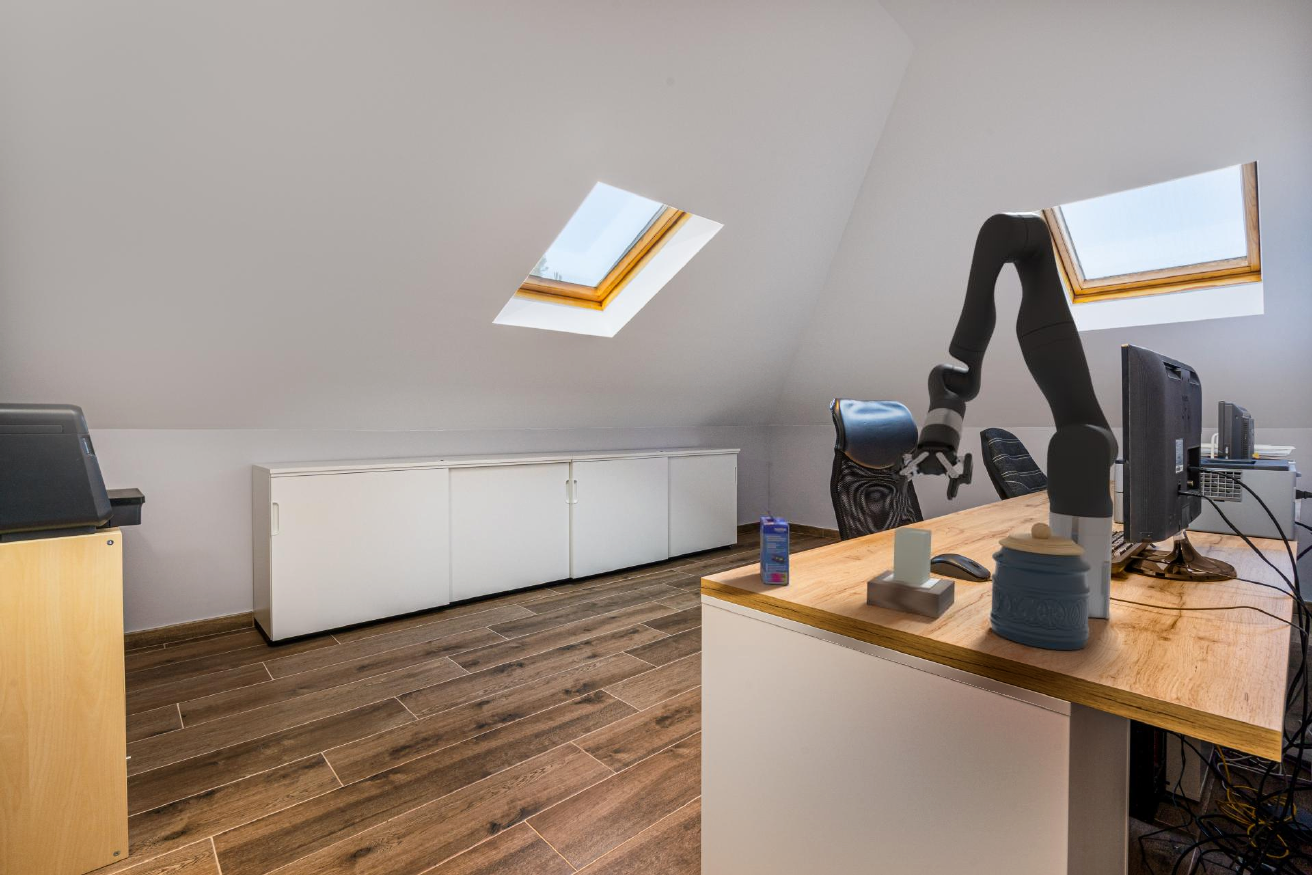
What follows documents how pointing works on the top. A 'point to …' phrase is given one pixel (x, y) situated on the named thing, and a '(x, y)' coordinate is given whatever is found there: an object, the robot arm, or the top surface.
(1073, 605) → the canister
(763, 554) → the ink cartridge box
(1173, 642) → the top surface
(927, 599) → the walnut plinth
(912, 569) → the sage block
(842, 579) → the top surface
